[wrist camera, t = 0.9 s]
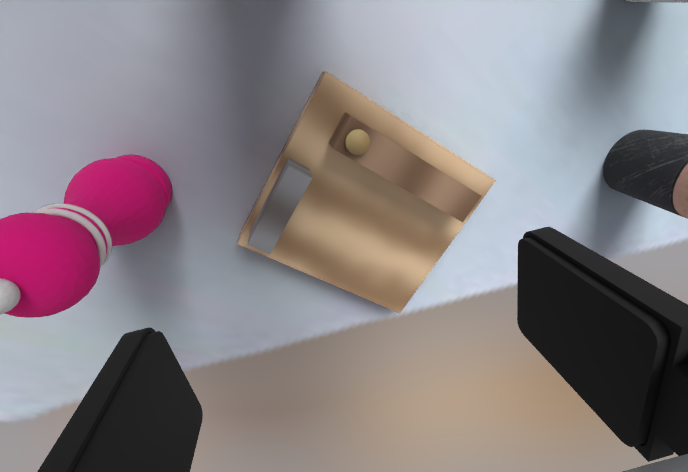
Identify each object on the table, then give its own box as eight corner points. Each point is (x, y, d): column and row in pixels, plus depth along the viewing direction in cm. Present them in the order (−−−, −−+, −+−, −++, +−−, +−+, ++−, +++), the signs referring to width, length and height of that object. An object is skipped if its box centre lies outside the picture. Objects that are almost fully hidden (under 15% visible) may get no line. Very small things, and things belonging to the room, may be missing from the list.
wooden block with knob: (322, 71, 33) (331, 71, 28) (481, 173, 40) (515, 190, 34) (240, 231, 38) (232, 260, 33) (392, 298, 45) (409, 332, 39)
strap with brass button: (328, 142, 33) (333, 149, 30) (345, 111, 32) (351, 116, 29) (449, 211, 37) (465, 224, 34) (467, 186, 37) (485, 197, 33)
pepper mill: (193, 186, 36) (101, 301, 18) (147, 235, 37) (17, 387, 19) (127, 132, 33) (-62, 203, 15) (79, 186, 34) (-147, 312, 16)
